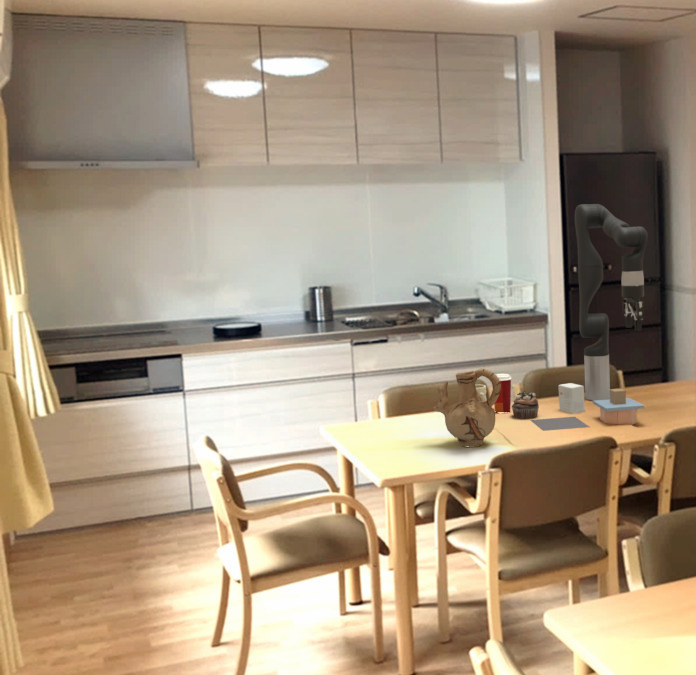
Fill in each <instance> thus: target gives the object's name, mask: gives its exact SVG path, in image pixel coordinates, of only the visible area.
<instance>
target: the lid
mask: <svg viewBox="0 0 696 675" xmlns="http://www.w3.org/2000/svg"><path fill="white" fill-rule="evenodd" d="M593 404H594V405H595V406H596V407H598V408H599V409H600V408H601V409H603V410H605V411H617V410H630V409H637V410H638V409H640V410H641V409H645V405H644V404H642V403H640V402H638V401H636V400H635V399H632V398H630V397H627V394H626V390H625V389H623V388H613V389H611V388H610V399H608V400H595V401H594V400H592V405H593Z"/></svg>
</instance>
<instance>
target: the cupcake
mask: <svg viewBox="0 0 696 675" xmlns="http://www.w3.org/2000/svg"><path fill="white" fill-rule="evenodd" d="M539 408H540V407H539V399H537V397H536V393H535V392H533V391H532V392H526V391H522V392H519V393H517V394H516V395H515V398H514V400H513V403H512V405H511V410H512V412H513V413H512V414H513V418H515V419H520V420H533V419H536V418H537V417H538V412H539Z"/></svg>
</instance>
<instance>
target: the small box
mask: <svg viewBox="0 0 696 675" xmlns="http://www.w3.org/2000/svg"><path fill="white" fill-rule="evenodd" d="M585 401H586V400H585V385H581V384H577V383H573V382H568V383H562V384H558V406H559V411H562V412H564V413H568V414H572V415H573V414H579V413H580V414H581V413H585V412H586V408H585V406H586V404H585Z"/></svg>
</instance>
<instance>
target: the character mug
mask: <svg viewBox="0 0 696 675" xmlns="http://www.w3.org/2000/svg"><path fill="white" fill-rule="evenodd" d="M475 386H476V391H477V392H478V393H479V395H480V397H481V398H482V402H485V401H487V400H488V399H487V386H486V385H485V384H479V383H478V384H476V383H475Z"/></svg>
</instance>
